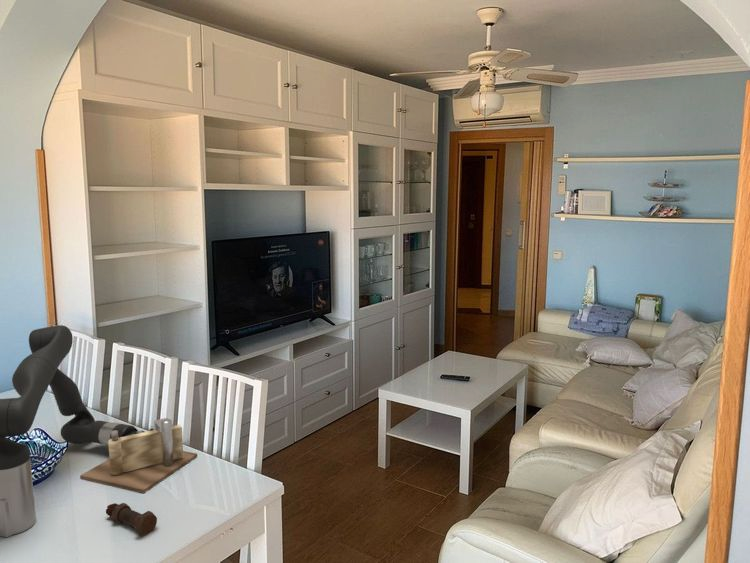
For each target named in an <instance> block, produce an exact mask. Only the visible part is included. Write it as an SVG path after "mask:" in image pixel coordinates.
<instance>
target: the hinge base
mask: <svg viewBox="0 0 750 563" xmlns="http://www.w3.org/2000/svg"><path fill="white" fill-rule="evenodd" d="M111 438H112V440H113V441H115V440H118V431H117V430H114V431H111ZM197 457H198V453H196V452H190V451H187V450H183V458H180V459H176V460H174V465H173V466H170V467H164V466H163V463H160V464H156V465H152V466H147V467H143V468H139V469H135V470H131V471H127V472H123V473H122V474H119V475H111V473H110V459H109V458H108V459H106V460H105V461H103V462H102V463H100V464H98V465H96V466H94V467H93V468H90V469H89V470H87V471H86V472H85V471H84V473H81V474H80V475H79V478H80V479H81V480H84V481H89V482H93V483H97V484H102V485H106V486H110V487H114V488H119V489H122V490H127V491H131V492H136V493H140V494H145V493H146V492H148V491H149V490H151V489H152V488H154V487H155V486H156V484H157V485H158V484H159V482H160V483H161V482H162V481H164V480H165V479H167V478H168V477H170V476H171V475H173V474H174V473H176V472H177V471H179V470H180V469H181V468H183V467H185V466H186V465H188V464H189V463H190V462H192V461H193V460H194V459H196V458H197ZM153 486H154V487H153Z"/></svg>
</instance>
